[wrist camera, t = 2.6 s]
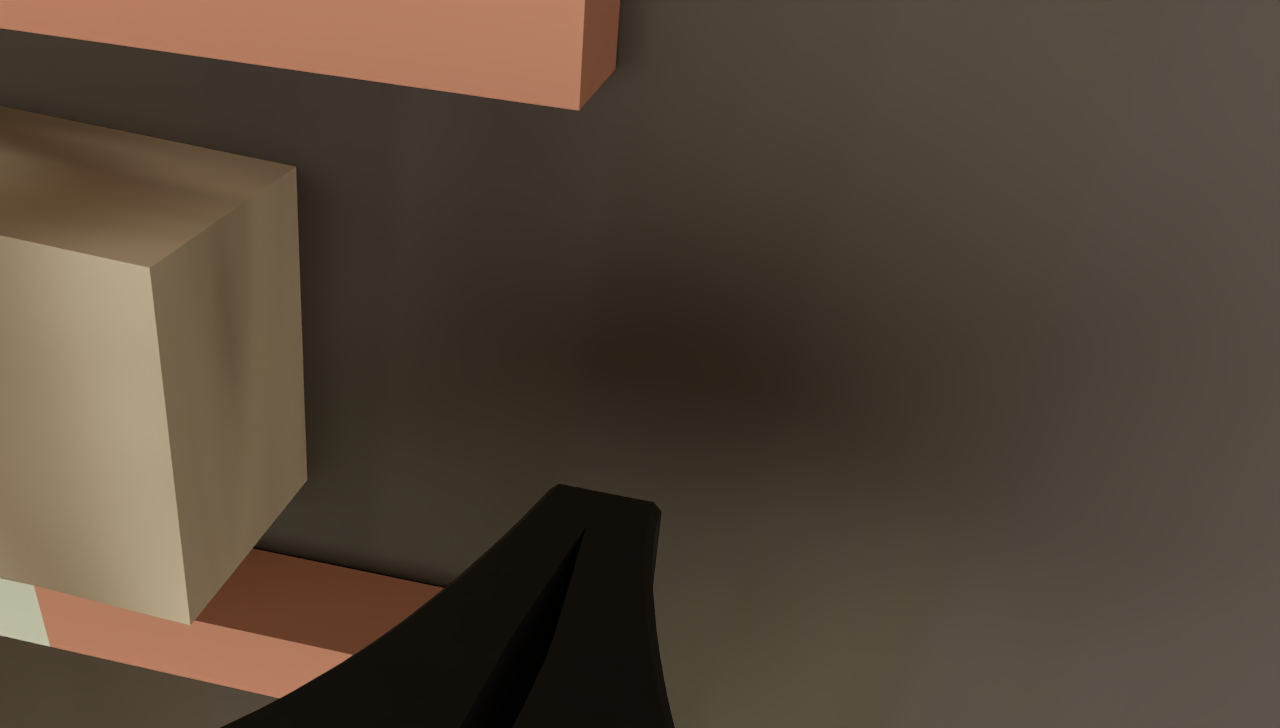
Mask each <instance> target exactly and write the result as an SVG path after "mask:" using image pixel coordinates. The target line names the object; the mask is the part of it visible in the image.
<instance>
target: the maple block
mask: <svg viewBox="0 0 1280 728" xmlns="http://www.w3.org/2000/svg"><path fill="white" fill-rule="evenodd" d="M306 481H307V459H306V431H305V403H304V375H303V347H302V319H301V290H300V262H299V234H298V206H297V178H296V167H295V166H291V165H286V164H281V163H276V162H271V161H266V160H261V159H257V158H252V157H247V156H242V155H237V154H232V153H227V152H222V151H218V150H213V149H208V148H203V147H198V146H193V145H188V144H183V143H179V142H174V141H169V140H164V139H159V138H154V137H149V136H145V135H140V134H135V133H130V132H125V131H120V130H115V129H110V128H106V127H101V126H96V125H91V124H86V123H81V122H76V121H71V120H67V119H62V118H57V117H52V116H47V115H42V114H37V113H33V112H28V111H23V110H18V109H13V108H8V107H3V106H0V577H2V578H6V579H10V580H14V581H18V582H22V583H26V584H30V585H34V586H38V587H41V588H45V589H49V590H53V591H57V592H61V593H65V594H69V595H73V596H77V597H81V598H85V599H89V600H92V601H96V602H100V603H104V604H108V605H112V606H116V607H120V608H124V609H128V610H132V611H136V612H140V613H143V614H147V615H151V616H155V617H159V618H163V619H167V620H171V621H175V622H179V623H183V624H187V625H191V624H192V623H193V622H194V620H195V619H196V618H197V617H198V615H199V614H200V613H201V612H202V611H203V609H204V608H205V607H206V606H207V604H208V603H209V602H210V601H211V599H212V598H213V597H214V596H215V594H216V593H217V592H218V591H219V589H220V588H221V587H222V586H223V584H224V583H225V582H226V581H227V579H228V578H229V577H230V576H231V574H232V573H233V572H234V571H235V569H236V568H237V567H238V566H239V564H240V563H241V562H242V561H243V559H244V558H245V557H246V556H247V555H248V553H249V552H250V551H251V550H252V548H253V547H254V546H255V545H256V543H257V542H258V541H259V540H260V538H261V537H262V536H263V535H264V533H265V532H266V531H267V530H268V528H269V527H270V526H271V525H272V523H273V522H274V521H275V520H276V518H277V517H278V516H279V515H280V513H281V512H282V511H283V510H284V508H285V507H286V506H287V505H288V503H289V502H290V501H291V500H292V498H293V497H294V496H295V495H296V494H297V492H298V491H299V490H300V489H301V487H302V486H303V485H304V484H305V482H306Z"/></svg>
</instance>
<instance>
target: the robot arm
mask: <svg viewBox="0 0 1280 728" xmlns="http://www.w3.org/2000/svg"><path fill="white" fill-rule="evenodd" d="M660 520H661V511H660V509H659V508H658V507H657V506H656V504H655V503H654V502H650V501H645V500H639V499H634V498H629V497H624V496H619V495H614V494H608V493H603V492H598V491H593V490H588V489H583V488H577V487H572V486H567V485H562V484H558V485H556V486H555V487H553V488H551V489H550V490H549V491H548V492H547V493H546V494H545V495H544V496H543V497H542V498H541V499H540V500H539V501H538V502H537V503H536V504H535V505H534V506H533V507H532V508H531V509H530V510H529V512H528V513H527V514H526V515H525V516H524V517H523V518H522V519H521V520H519V521H518V522H517V523H516V524H515V525H514V526H513V527H512V528H511V529H510V530H509V531H508V532H507V533H506V534H505V535H504V536H503V537H502V538H501V539H500V540H499V541H498V542H497V543H496V544H494V545H493V546H492V547H491V548H490V549H489V550H488V551H487V552H486V553H484V554H483V555H482V556H481V557H480V558H479V559H478V560H477V561H475V562H474V563H473V564H472V565H471V566H470V567H469V568H468V569H466V570H465V571H464V572H463V573H462V574H461V575H460V576H458V577H457V578H456V579H455V580H454V581H453V582H451V583H450V584H449V585H448V586H447V587H445V588H444V589H443V590H441V591H440V592H439V593H438V594H436V595H435V596H434V597H433V598H431V599H430V600H429V601H427V602H426V603H425V604H424V605H422V606H421V607H420V608H419V609H417V610H416V611H415V612H414V613H412V614H411V615H410V616H408V617H407V618H406V619H404V620H403V621H402V622H400V623H399V624H398V625H396V626H395V627H393V628H392V629H391V630H389V631H388V632H387V633H385V634H384V635H382V636H381V637H379V638H378V639H377V640H375V641H374V642H372V643H371V644H369V645H368V646H366V647H365V648H363V649H362V650H360V651H359V652H357V653H355V654H354V655H352V656H351V657H349V658H348V659H346V660H345V661H343V662H342V663H340V664H338V665H337V666H335V667H333V668H332V669H330V670H328V671H327V672H325V673H323V674H322V675H320V676H318V677H316V678H315V679H313V680H311V681H310V682H308V683H306V684H304V685H303V686H301V687H299V688H298V689H296V690H294V691H292V692H290V693H289V694H287V695H285V696H283V697H281V698H280V699H278V700H276V701H274V702H272V703H270V704H268V705H266V706H265V707H263V708H261V709H259V710H257V711H254V712H252V713H250V714H248V715H246V716H244V717H242V718H240V719H238V720H236V721H233V722H231V723H229V724H227V725H225V726H223V727H221V728H675V727H674V723H673V719H672V715H671V711H670V706H669V702H668V697H667V692H666V687H665V682H664V677H663V671H662V665H661V659H660V653H659V646H658V638H657V631H656V620H655V609H654V597H653V581H654V572H655V563H656V555H657V546H658V537H659V529H660Z"/></svg>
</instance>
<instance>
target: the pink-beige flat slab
mask: <svg viewBox="0 0 1280 728" xmlns="http://www.w3.org/2000/svg"><path fill="white" fill-rule="evenodd" d="M619 12H620V0H0V28H3V29H10V30H17V31H24V32H31V33H38V34H45V35H52V36H59V37H66V38H73V39H80V40H87V41H94V42H101V43H108V44H116V45H123V46H130V47H137V48H144V49H151V50H158V51H165V52H172V53H179V54H186V55H193V56H200V57H207V58H214V59H221V60H228V61H235V62H242V63H249V64H256V65H263V66H270V67H277V68H284V69H291V70H298V71H305V72H312V73H319V74H326V75H333V76H340V77H347V78H354V79H361V80H368V81H375V82H382V83H389V84H396V85H403V86H410V87H417V88H424V89H431V90H438V91H445V92H452V93H459V94H466V95H473V96H480V97H487V98H494V99H501V100H508V101H515V102H522V103H529V104H536V105H543V106H550V107H557V108H564V109H571V110H578V111H579V110H580V109H581V108H582V107H583V106H584V105H585V103H586V102H587V101H588V100H589V99H590V98H591V97H592V95H593V94H594V93H595V92H596V91H597V90H598V89H599V87H600V86H601V85H602V84H603V83H604V82H605V81H606V79H607V78H608V77H609V76H610V75H611V74H612V73H613V72H614V70H615V69H616V55H617V41H618V26H619ZM443 589H444V588H442V587H437V586H432V585H427V584H422V583H417V582H412V581H408V580H403V579H398V578H393V577H388V576H383V575H379V574H374V573H369V572H364V571H359V570H354V569H350V568H345V567H340V566H335V565H330V564H325V563H320V562H316V561H311V560H306V559H301V558H296V557H291V556H287V555H282V554H277V553H272V552H267V551H262V550H257V549H253V548H252V550H251V551H250V552H249V553H248V555H247V556H246V557H245V558H244V559H243V561H242V562H241V563H240V564H239V566H238V567H237V568H236V569H235V571H234V572H233V573H232V574H231V576H230V577H229V578H228V579H227V581H226V582H225V583H224V584H223V586H222V587H221V588H220V589H219V591H218V592H217V593H216V594H215V596H214V597H213V598H212V599H211V601H210V602H209V603H208V604H207V606H206V607H205V608H204V609H203V611H202V612H201V613H200V614H199V615H198V617H197V618H196V619H195V620H194V622H193V623H192V624H191V625H187V624H183V623H179V622H175V621H171V620H167V619H163V618H159V617H155V616H151V615H147V614H143V613H140V612H136V611H132V610H128V609H124V608H120V607H116V606H112V605H108V604H104V603H100V602H96V601H92V600H89V599H85V598H81V597H77V596H73V595H69V594H65V593H61V592H57V591H53V590H49V589H45V588H41V587H38V586H34V585H30V584H26V583H22V582H18V581H14V580H10V579H6V578H2V577H0V635H1V636H5V637H10V638H14V639H19V640H23V641H28V642H32V643H37V644H41V645H45V646H50V647H54V648H59V649H63V650H68V651H72V652H76V653H81V654H85V655H90V656H94V657H99V658H103V659H108V660H112V661H116V662H121V663H125V664H130V665H134V666H139V667H143V668H147V669H152V670H156V671H161V672H165V673H170V674H174V675H178V676H183V677H187V678H192V679H196V680H201V681H205V682H210V683H214V684H218V685H223V686H227V687H232V688H236V689H241V690H245V691H249V692H254V693H258V694H263V695H267V696H272V697H276V698H281V697H283V696H285V695H287V694H289V693H290V692H292V691H294V690H296V689H298V688H299V687H301V686H303V685H304V684H306V683H308V682H310V681H311V680H313V679H315V678H316V677H318V676H320V675H322V674H323V673H325V672H327V671H328V670H330V669H332V668H333V667H335V666H337V665H338V664H340V663H342V662H343V661H345V660H346V659H348V658H349V657H351V656H352V655H354V654H355V653H357V652H359V651H360V650H362V649H363V648H365V647H366V646H368V645H369V644H371V643H372V642H374V641H375V640H377V639H378V638H379V637H381V636H382V635H384V634H385V633H387V632H388V631H389V630H391V629H392V628H393V627H395V626H396V625H398V624H399V623H400V622H402V621H403V620H404V619H406V618H407V617H408V616H410V615H411V614H412V613H414V612H415V611H416V610H417V609H419V608H420V607H421V606H422V605H424V604H425V603H426V602H427V601H429V600H430V599H431V598H433V597H434V596H435V595H436V594H438V593H439V592H440V591H441V590H443Z"/></svg>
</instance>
